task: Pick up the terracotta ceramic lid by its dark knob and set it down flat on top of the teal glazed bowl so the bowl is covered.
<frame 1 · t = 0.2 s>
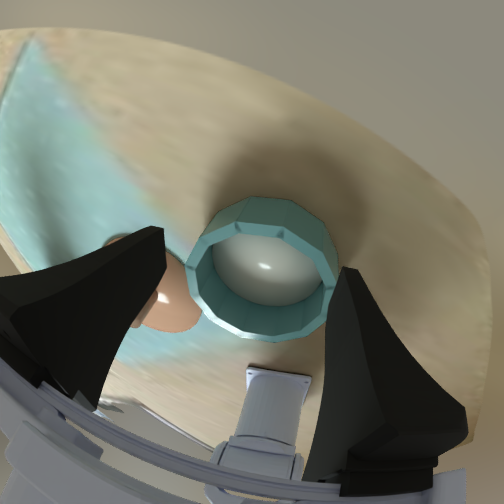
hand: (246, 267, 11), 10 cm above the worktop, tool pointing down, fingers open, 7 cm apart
lid: (148, 286, 29), on the worktop
bowl: (268, 260, 23), on the worktop
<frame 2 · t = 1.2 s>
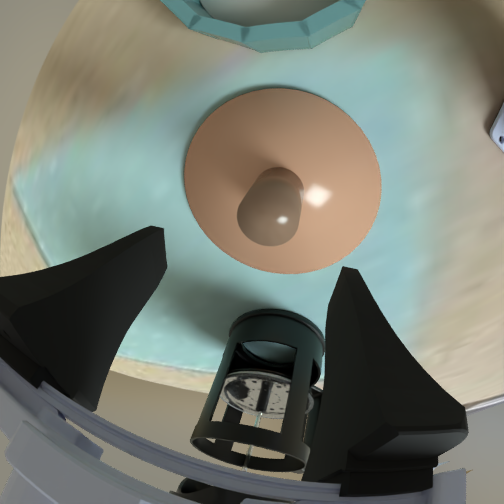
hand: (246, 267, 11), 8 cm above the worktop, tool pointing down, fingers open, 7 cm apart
lid: (280, 186, 18), on the worktop
french press: (281, 343, 26), on the worktop
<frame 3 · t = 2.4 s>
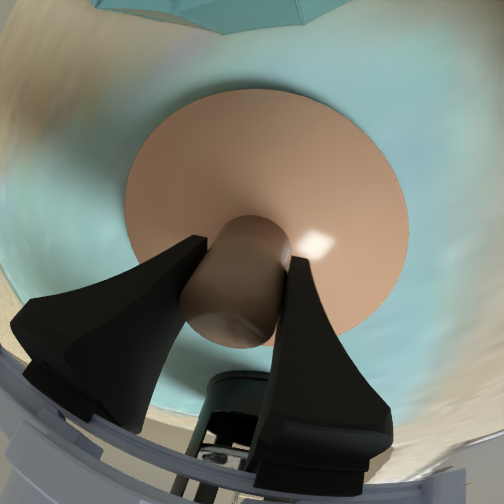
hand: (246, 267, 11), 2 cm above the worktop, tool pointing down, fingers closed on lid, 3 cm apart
lid: (257, 239, 13), on the worktop, touching gripper
french press: (267, 400, 21), on the worktop
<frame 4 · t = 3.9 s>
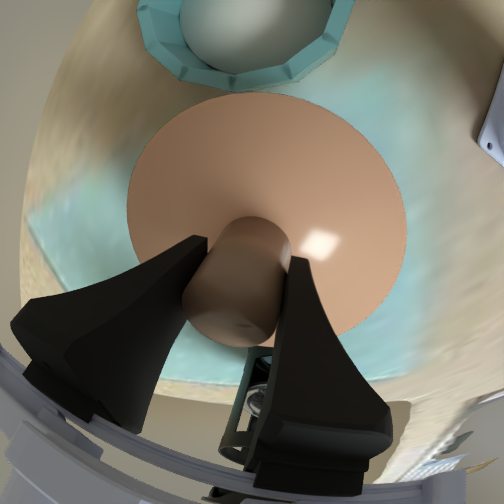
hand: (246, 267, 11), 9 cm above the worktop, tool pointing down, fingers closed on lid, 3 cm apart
lid: (258, 240, 13), point 7 cm above the worktop, touching gripper
bowl: (253, 10, 12), on the worktop
french press: (297, 354, 28), on the worktop
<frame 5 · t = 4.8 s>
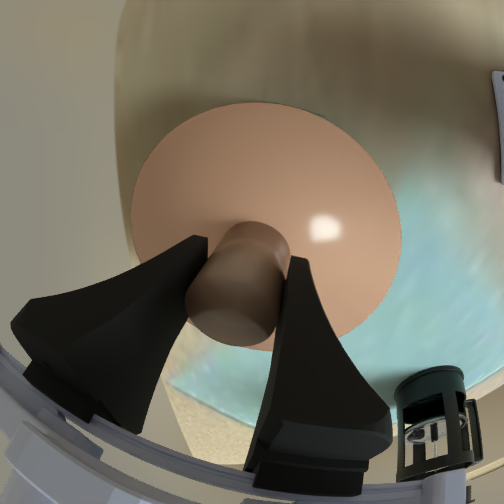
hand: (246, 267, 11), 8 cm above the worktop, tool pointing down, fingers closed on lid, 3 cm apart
lid: (258, 245, 13), point 6 cm above the worktop, touching gripper
french press: (432, 385, 26), on the worktop
when the fingers open (8 cm above the worktop, at t = 5.3 s): lid drops 1 cm, resting on bowl.
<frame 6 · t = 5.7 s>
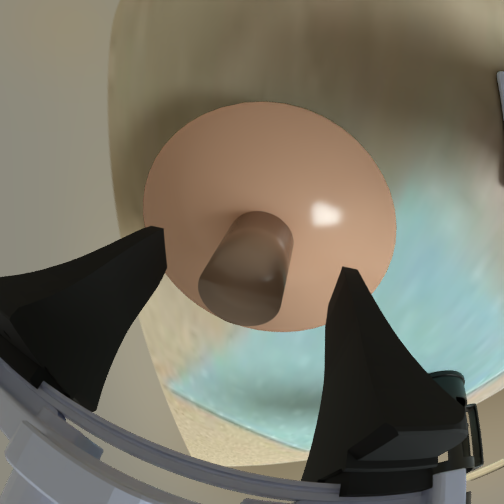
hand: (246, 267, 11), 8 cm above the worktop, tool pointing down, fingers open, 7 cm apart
lid: (263, 233, 14), point 4 cm above the worktop, touching bowl
french press: (433, 389, 25), on the worktop
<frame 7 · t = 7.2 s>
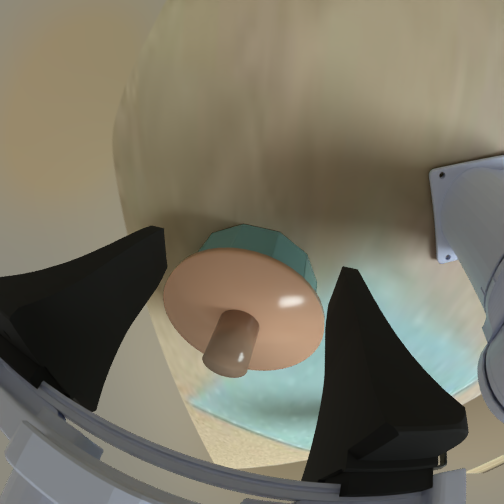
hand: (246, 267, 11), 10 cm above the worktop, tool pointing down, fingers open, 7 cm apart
lid: (241, 316, 22), point 4 cm above the worktop, touching bowl
bowl: (253, 280, 25), on the worktop
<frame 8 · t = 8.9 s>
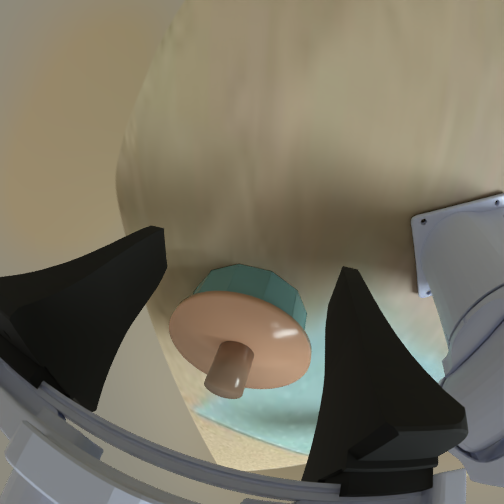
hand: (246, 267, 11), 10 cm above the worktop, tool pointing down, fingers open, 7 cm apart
lid: (238, 345, 24), point 4 cm above the worktop, touching bowl
bowl: (249, 310, 27), on the worktop
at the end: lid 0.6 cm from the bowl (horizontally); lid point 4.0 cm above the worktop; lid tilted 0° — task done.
